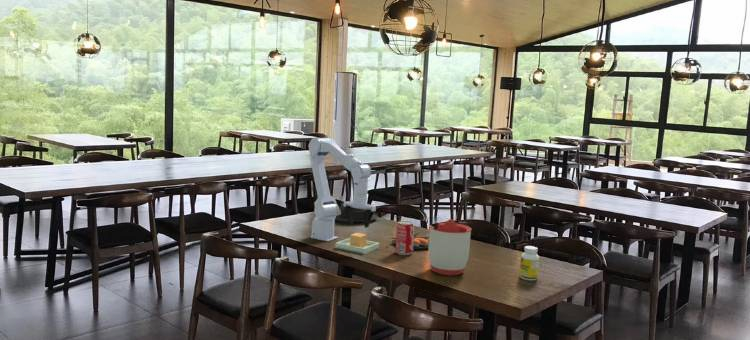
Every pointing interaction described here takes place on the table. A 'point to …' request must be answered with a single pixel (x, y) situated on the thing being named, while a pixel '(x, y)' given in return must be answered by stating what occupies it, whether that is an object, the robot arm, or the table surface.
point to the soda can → (404, 238)
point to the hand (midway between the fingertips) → (358, 225)
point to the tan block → (358, 240)
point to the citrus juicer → (449, 247)
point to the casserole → (357, 215)
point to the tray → (346, 246)
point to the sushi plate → (418, 242)
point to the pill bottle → (529, 263)
